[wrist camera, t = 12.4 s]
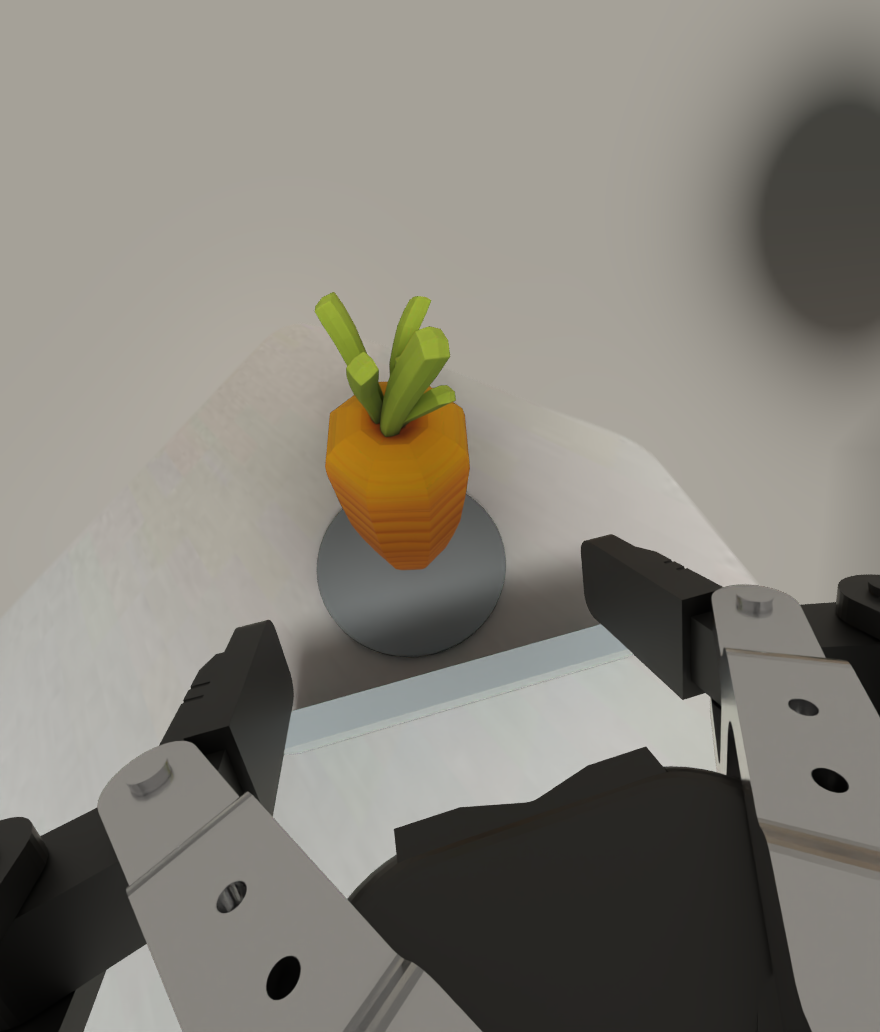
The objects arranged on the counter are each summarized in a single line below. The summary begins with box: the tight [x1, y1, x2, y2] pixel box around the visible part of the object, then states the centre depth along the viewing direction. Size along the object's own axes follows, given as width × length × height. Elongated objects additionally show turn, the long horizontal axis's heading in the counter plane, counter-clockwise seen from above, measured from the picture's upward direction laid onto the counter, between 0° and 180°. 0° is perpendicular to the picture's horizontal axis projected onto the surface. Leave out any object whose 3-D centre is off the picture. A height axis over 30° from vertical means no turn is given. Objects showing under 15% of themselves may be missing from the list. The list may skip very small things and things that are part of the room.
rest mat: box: [317, 494, 506, 657], centre depth 24 cm, size 10×10×1 cm
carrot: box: [315, 292, 470, 570], centre depth 17 cm, size 5×5×15 cm
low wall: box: [284, 624, 633, 754], centre depth 19 cm, size 16×1×4 cm, turn 105°
